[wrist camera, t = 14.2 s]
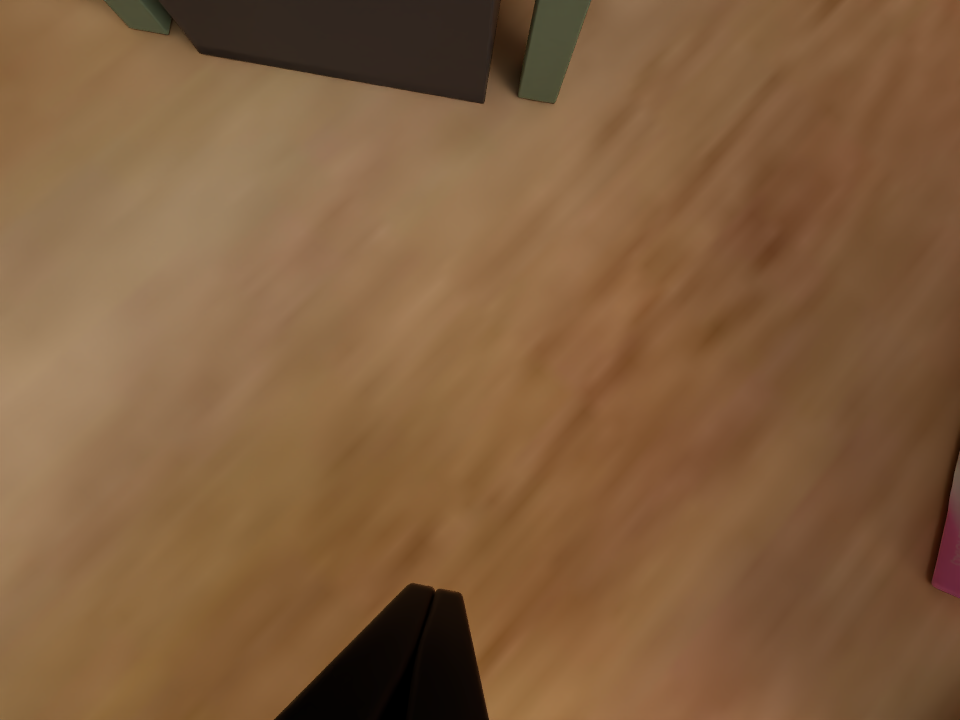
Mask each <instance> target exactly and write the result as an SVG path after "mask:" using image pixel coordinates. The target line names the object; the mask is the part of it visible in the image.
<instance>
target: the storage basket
mask: <svg viewBox="0 0 960 720" xmlns="http://www.w3.org/2000/svg"><path fill="white" fill-rule="evenodd" d="M159 1H160V3H161V4H162V5H163V7H164V8H165V9H166V10H167V12H168V13H169V14H170V15H171V17H172V18H173V19H174V20H175V22H176V23H177V24H178V26H179V27H180V28H181V29H182V31H183V32H184V33H185V34H186V36H187V37H188V38H189V39H190V41H191V42H192V43H193V45H194V46H195V48H196V49H197V50H198V51H199V53H201V54H206V55H212V56H217V57H223V58H229V59H234V60H240V61H246V62H251V63H257V64H263V65H268V66H274V67H280V68H285V69H291V70H297V71H302V72H308V73H313V74H319V75H325V76H330V77H336V78H342V79H347V80H353V81H359V82H364V83H370V84H376V85H381V86H387V87H393V88H398V89H404V90H410V91H415V92H421V93H427V94H432V95H438V96H444V97H449V98H455V99H461V100H466V101H472V102H477V103H484V101H485V94H486V88H487V82H488V76H489V70H490V63H491V57H492V51H493V45H494V38H495V32H496V26H497V20H498V13H499V7H500V1H501V0H159Z"/></svg>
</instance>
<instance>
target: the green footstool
mask: <svg viewBox="0 0 960 720" xmlns="http://www.w3.org/2000/svg"><path fill="white" fill-rule="evenodd" d="M104 1H105V2H106V3H107V4H108V5H109V6H110V7H111V8H112V9H113V11H114V12H115V13H116V14H117V15H118V16H119V17H120V18H121V19H122V20H123V21H124V22H125V23H126V25H127V26H128V27H130V28H133V29H139V30H144V31H150V32H155V33H161V34H167V35H168V34H169V29H170V24H171V19H172V17H171V15H170V14H169V13H168V12H167V10H166V9H165V8H164V7H163V5H162V4H161V3H160V1H159V0H104ZM590 2H591V0H535V5H534V10H533V15H532V20H531V25H530V30H529V35H528V40H527V45H526V50H525V55H524V59H523V65H522V71H521V78H520V84H519V90H518V97H520V98H526V99H531V100H537V101H543V102H548V103H555V102H556V99H557V96H558V93H559V90H560V88H561V85H562V82H563V79H564V76H565V73H566V70H567V68H568V65H569V62H570V59H571V56H572V53H573V50H574V48H575V45H576V42H577V39H578V36H579V33H580V30H581V28H582V25H583V22H584V19H585V16H586V13H587V10H588V7H589V5H590Z"/></svg>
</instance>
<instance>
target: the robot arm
mask: <svg viewBox="0 0 960 720" xmlns="http://www.w3.org/2000/svg"><path fill="white" fill-rule="evenodd" d="M274 720H489V718H488V713H487V708H486V704H485V699H484V694H483V689H482V685H481V680H480V675H479V671H478V666H477V661H476V656H475V652H474V647H473V642H472V638H471V633H470V628H469V624H468V619H467V614H466V609H465V605H464V600H463V596H462V595H461V593H459V592H455V591H450V590H445V589H437V590H436V592H435V590H434V588H433V587H430V586H425V585H420V584H415V583H411V584H409V585H407V586H406V587H405V588H404V589H403V590H402V591H401V592H400V593H399V594H398V595H397V596H396V597H395V598H394V599H393V600H392V601H391V602H390V603H389V604H388V605H387V606H386V607H385V608H384V609H383V610H382V611H381V612H380V613H379V614H378V615H377V616H376V617H375V618H374V619H373V620H372V621H371V623H370V624H369V625H368V626H367V627H366V628H365V629H364V630H363V631H362V632H361V633H360V634H359V635H358V636H357V637H356V638H355V639H354V640H353V641H352V642H351V643H350V644H349V645H348V646H347V647H346V648H345V649H344V650H343V651H342V652H341V653H340V654H339V655H338V656H337V657H336V658H335V659H334V660H333V661H332V662H331V663H330V664H329V665H328V666H327V667H326V668H325V669H324V670H323V671H322V672H321V673H320V674H319V675H318V676H317V677H316V678H315V679H314V680H313V681H312V682H311V683H310V684H309V685H308V686H307V687H306V688H305V689H304V690H303V691H302V692H301V693H300V694H299V695H298V696H297V697H296V698H295V699H294V700H293V701H292V702H291V703H290V704H289V705H288V706H287V707H286V708H285V709H284V710H283V711H282V712H281V713H280V714H279V715H278V716H277V717H276V718H275V719H274Z"/></svg>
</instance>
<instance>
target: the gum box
mask: <svg viewBox="0 0 960 720" xmlns="http://www.w3.org/2000/svg"><path fill="white" fill-rule="evenodd" d="M931 583H932V585H933V586H934V587H935V588H937V589H939V590H941V591H944V592H946V593H948V594H951V595H953V596H955V597H957V598H960V452H959V456H958V461H957V465H956V469H955V473H954V479H953V485H952V489H951V493H950V499H949V507H948V513H947V518H946V522H945V527H944V531H943V536H942V540H941V544H940V549H939V553H938V558H937V562H936V566H935V570H934V574H933V578H932V582H931Z"/></svg>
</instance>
